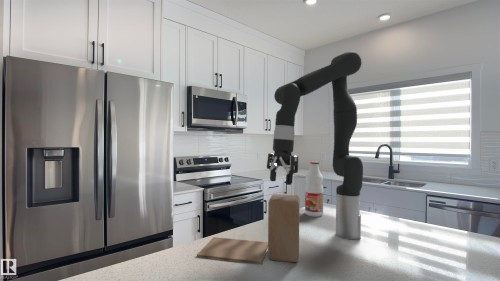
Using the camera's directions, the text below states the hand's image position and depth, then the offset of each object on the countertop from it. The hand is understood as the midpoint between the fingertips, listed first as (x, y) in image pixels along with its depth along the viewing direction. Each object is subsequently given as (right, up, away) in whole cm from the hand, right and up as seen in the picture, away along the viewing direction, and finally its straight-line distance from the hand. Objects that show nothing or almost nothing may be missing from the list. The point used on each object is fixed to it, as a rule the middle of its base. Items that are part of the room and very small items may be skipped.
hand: (280, 182), depth 95 cm
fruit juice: (+23, -24, +43) cm, 55 cm away
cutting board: (-17, -24, -2) cm, 29 cm away
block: (+1, -24, -6) cm, 25 cm away
